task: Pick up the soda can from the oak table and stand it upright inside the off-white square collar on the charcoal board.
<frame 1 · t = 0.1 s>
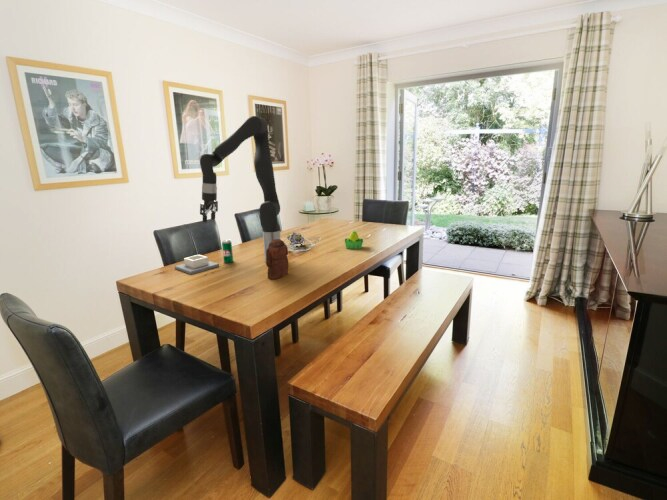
hand: (209, 220, 193), 22 cm above the table, tool pointing down, fingers open, 8 cm apart
wooden figurine: (277, 276, 169), on the table
can holder: (197, 267, 185), on the table
passion flower: (296, 247, 222), on the table
soda can: (228, 262, 194), on the table
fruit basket: (353, 248, 216), on the table
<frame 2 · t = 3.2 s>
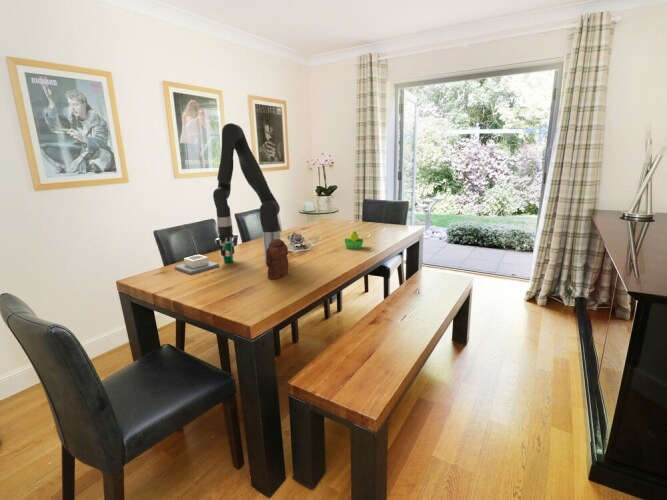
hand: (228, 255, 192), 4 cm above the table, tool pointing down, fingers closed on soda can, 5 cm apart
soda can: (228, 262, 194), on the table, touching gripper
everything else where it was.
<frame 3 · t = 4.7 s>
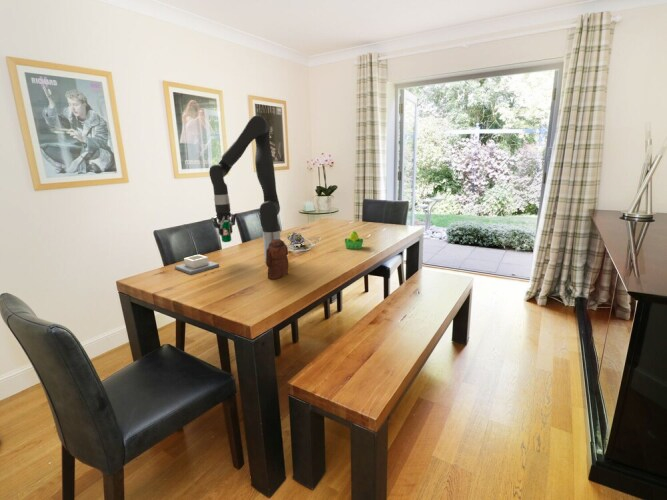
hand: (226, 234, 189), 16 cm above the table, tool pointing down, fingers closed on soda can, 5 cm apart
soda can: (226, 241, 190), point 11 cm above the table, touching gripper
everything else where it was.
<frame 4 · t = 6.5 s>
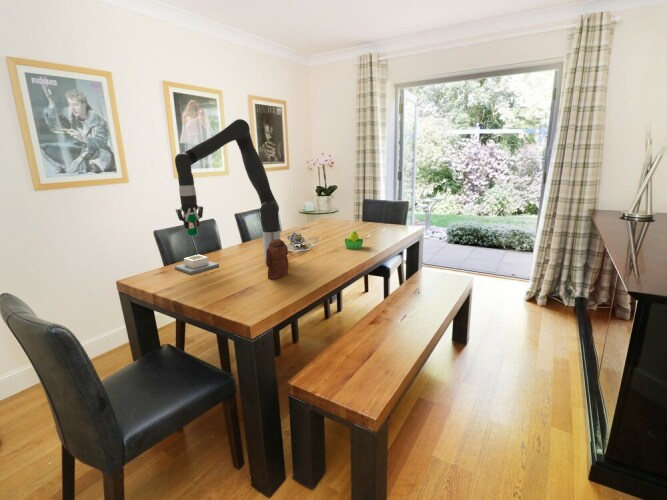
hand: (192, 227, 179), 21 cm above the table, tool pointing down, fingers closed on soda can, 5 cm apart
soda can: (192, 235, 180), point 17 cm above the table, touching gripper
everything else where it was.
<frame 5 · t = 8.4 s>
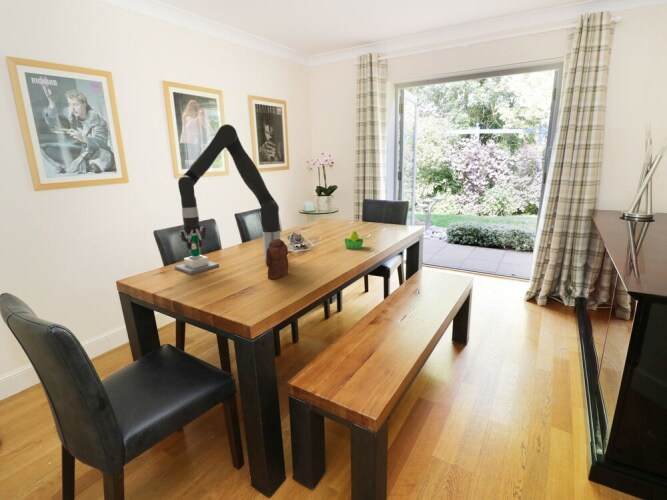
hand: (194, 248, 182), 11 cm above the table, tool pointing down, fingers closed on soda can, 5 cm apart
soda can: (195, 255, 183), point 7 cm above the table, touching gripper
everything else where it was.
when the fingers open (7 cm above the table, at t = 10.0 s): soda can drops 2 cm, resting on can holder.
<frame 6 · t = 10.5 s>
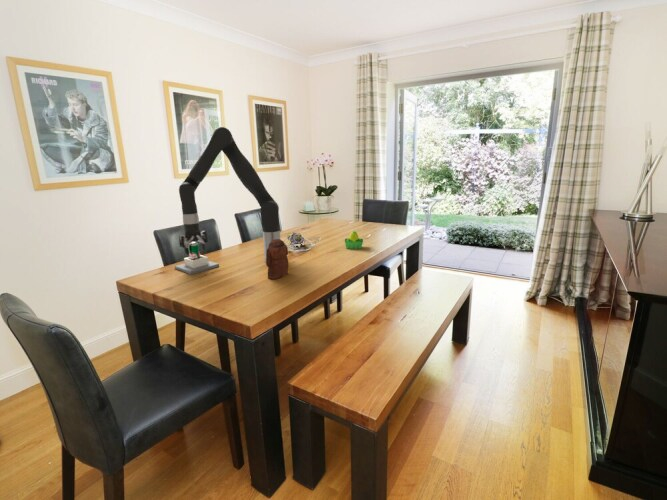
hand: (195, 252, 182), 8 cm above the table, tool pointing down, fingers open, 8 cm apart
soda can: (196, 265, 184), point 1 cm above the table, touching can holder
everything else where it was.
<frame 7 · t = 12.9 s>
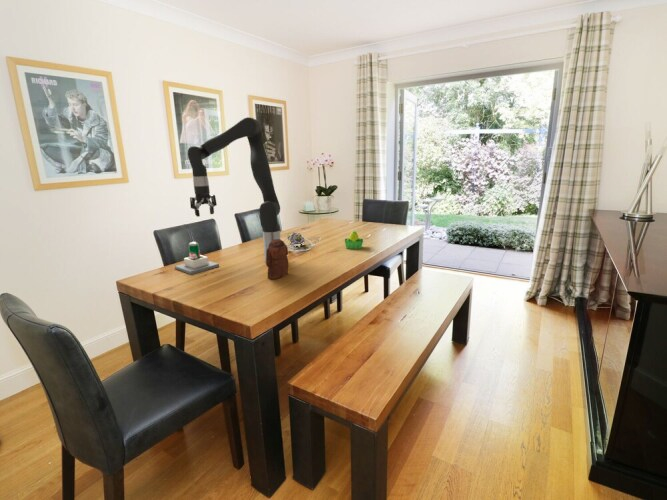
hand: (205, 215, 190), 26 cm above the table, tool pointing down, fingers open, 8 cm apart
nothing on the table moved.
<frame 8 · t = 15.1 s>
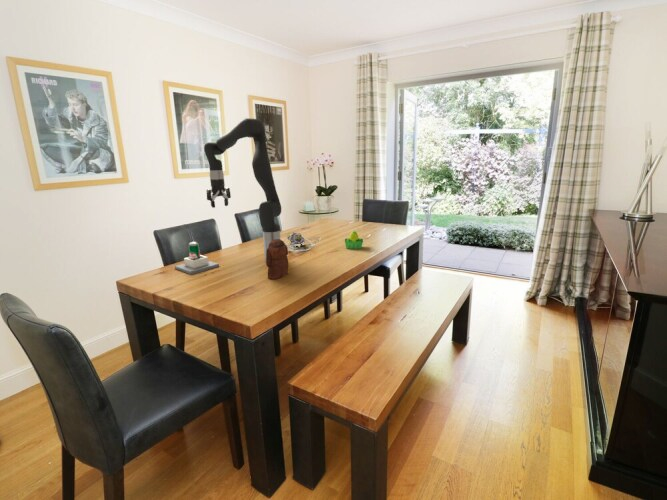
hand: (220, 206, 205), 28 cm above the table, tool pointing down, fingers open, 8 cm apart
nothing on the table moved.
at the end: soda can 0.3 cm off-centre on the can holder, point 1.3 cm above the can holder's base; soda can tilted 0°; the gripper is holding nothing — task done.
